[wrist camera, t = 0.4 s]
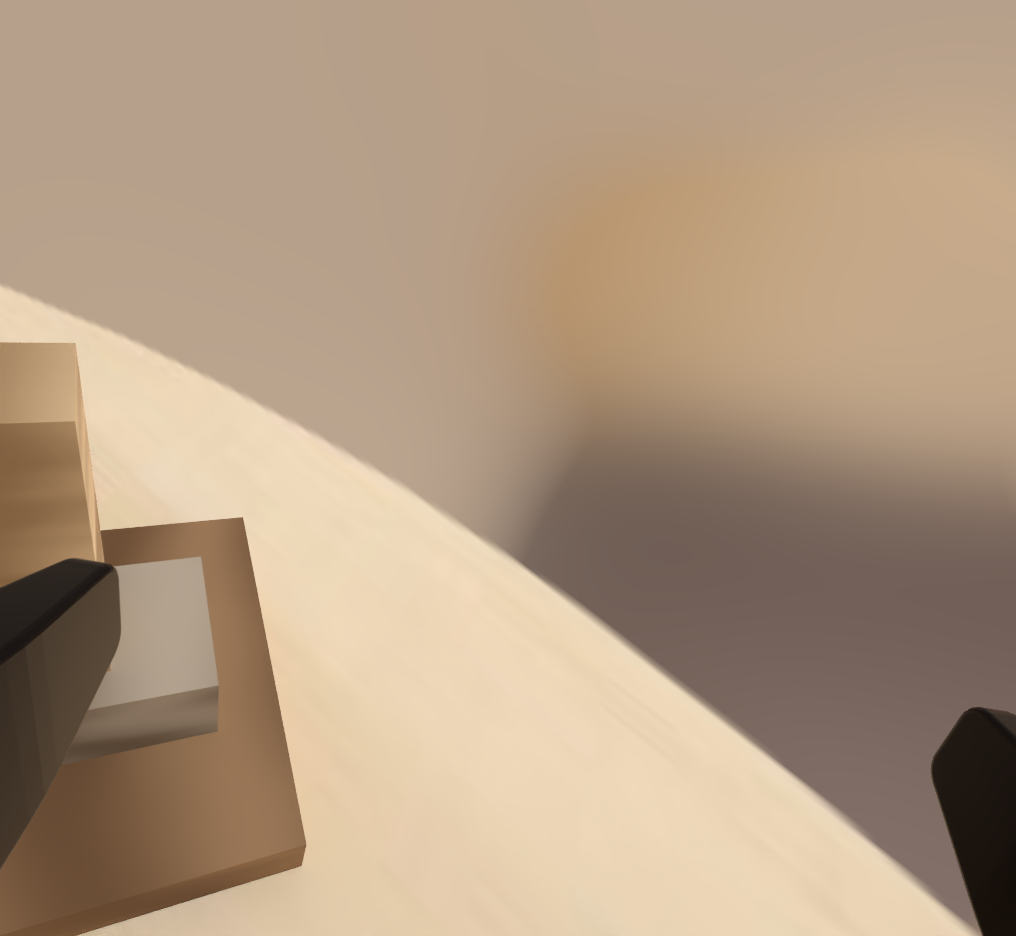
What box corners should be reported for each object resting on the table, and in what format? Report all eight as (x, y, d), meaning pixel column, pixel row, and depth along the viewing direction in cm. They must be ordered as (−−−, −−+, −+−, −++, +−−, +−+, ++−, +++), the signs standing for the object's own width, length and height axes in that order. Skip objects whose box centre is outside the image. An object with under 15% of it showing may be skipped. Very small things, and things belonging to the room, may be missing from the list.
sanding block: (201, 606, 24) (200, 319, 17) (217, 731, 21) (225, 449, 14) (-110, 649, 20) (-276, 308, 13) (-140, 808, 17) (-371, 481, 10)
